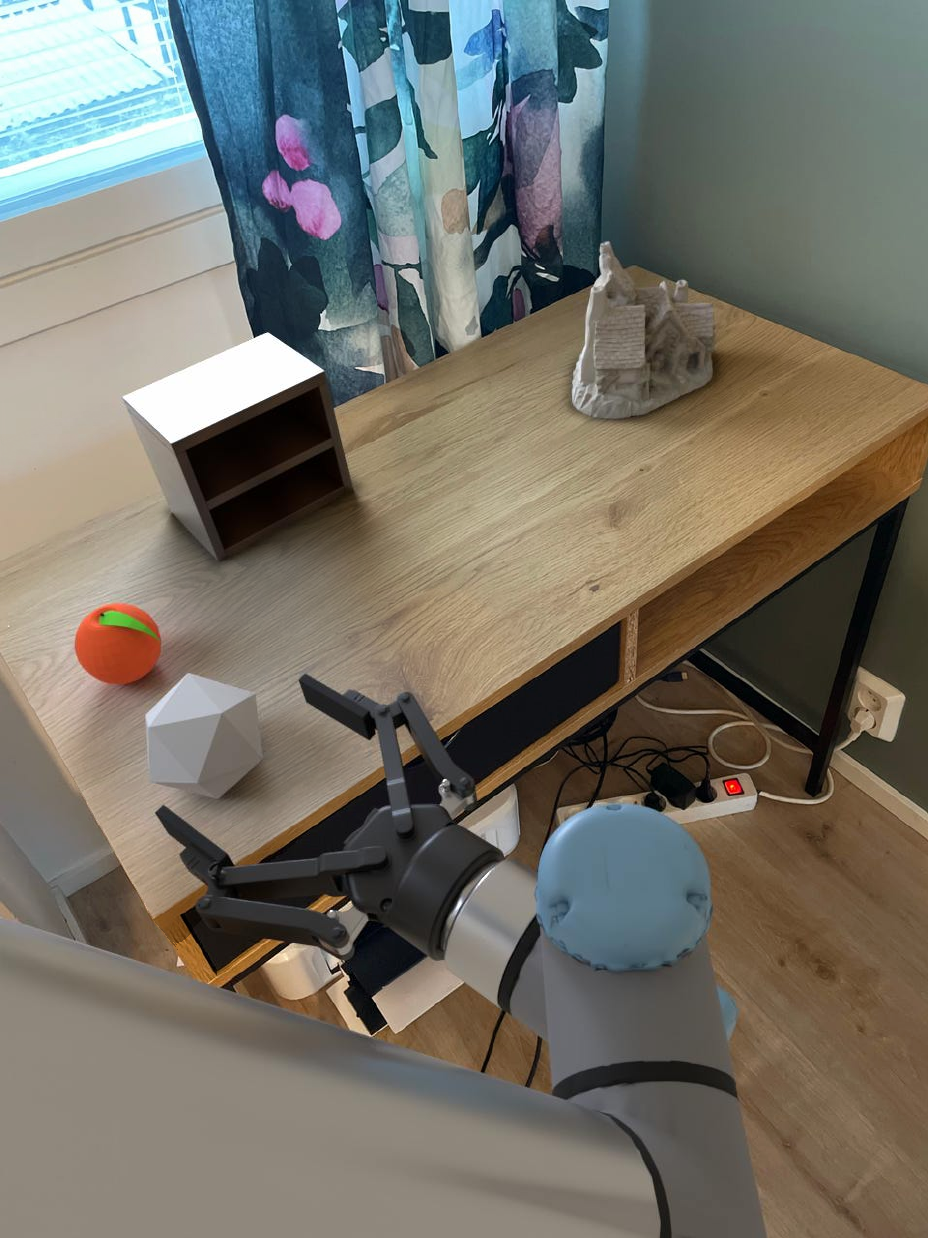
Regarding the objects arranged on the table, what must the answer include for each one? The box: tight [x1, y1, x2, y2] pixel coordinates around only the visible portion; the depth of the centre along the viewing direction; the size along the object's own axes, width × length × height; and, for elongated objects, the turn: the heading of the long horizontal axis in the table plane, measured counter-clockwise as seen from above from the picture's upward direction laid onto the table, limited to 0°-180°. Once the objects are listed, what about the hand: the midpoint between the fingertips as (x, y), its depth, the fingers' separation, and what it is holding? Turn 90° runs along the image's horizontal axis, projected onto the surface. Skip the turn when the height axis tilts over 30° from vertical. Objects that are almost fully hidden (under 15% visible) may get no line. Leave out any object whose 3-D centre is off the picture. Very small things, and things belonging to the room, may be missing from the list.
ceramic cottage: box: [571, 241, 717, 420], centre depth 98 cm, size 16×16×15 cm
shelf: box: [121, 332, 354, 562], centre depth 89 cm, size 16×11×14 cm
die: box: [144, 672, 264, 800], centre depth 68 cm, size 8×9×10 cm
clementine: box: [74, 602, 163, 685], centre depth 76 cm, size 8×7×7 cm
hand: (239, 749), depth 64 cm, fingers open, 13 cm apart
